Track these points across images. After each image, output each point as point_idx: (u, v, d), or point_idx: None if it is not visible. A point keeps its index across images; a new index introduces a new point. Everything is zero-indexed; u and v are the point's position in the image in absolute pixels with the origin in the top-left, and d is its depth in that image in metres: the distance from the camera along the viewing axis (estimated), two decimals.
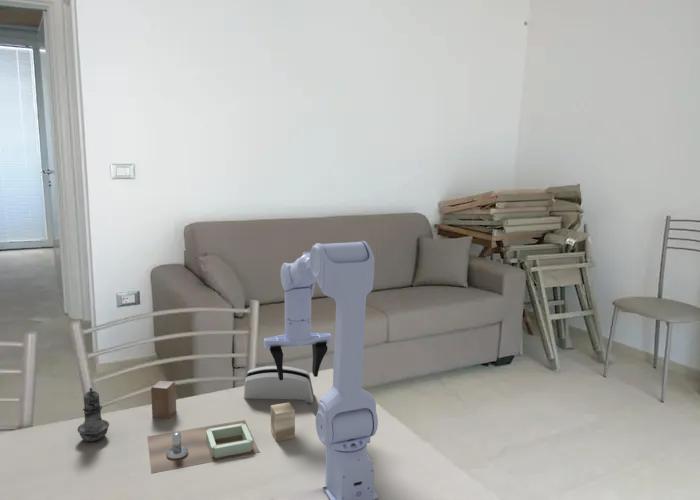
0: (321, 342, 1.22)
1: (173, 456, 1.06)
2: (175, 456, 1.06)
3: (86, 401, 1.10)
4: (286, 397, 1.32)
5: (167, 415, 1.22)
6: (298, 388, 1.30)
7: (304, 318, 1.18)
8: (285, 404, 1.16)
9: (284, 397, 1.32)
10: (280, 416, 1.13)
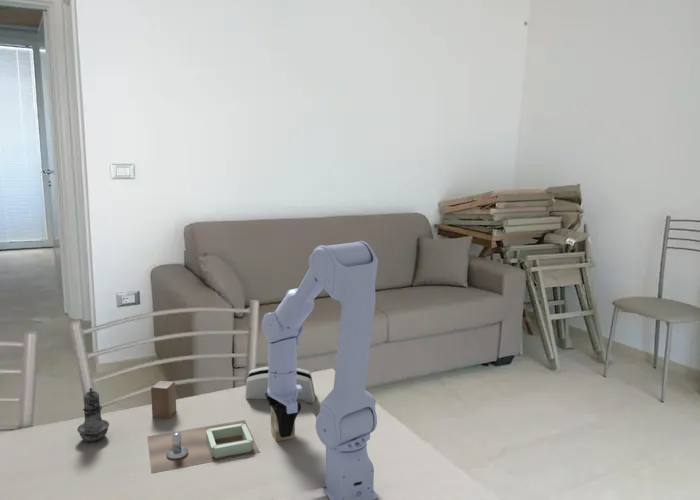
0: None
1: (173, 456, 1.06)
2: (175, 456, 1.06)
3: (86, 401, 1.10)
4: None
5: (167, 415, 1.22)
6: None
7: (292, 370, 1.11)
8: None
9: None
10: None
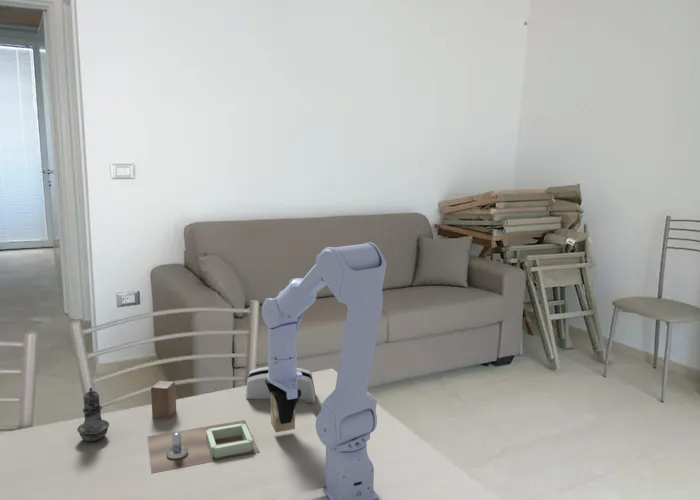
0: (286, 393, 1.09)
1: (173, 456, 1.06)
2: (175, 456, 1.06)
3: (86, 401, 1.10)
4: None
5: (167, 415, 1.22)
6: (301, 388, 1.31)
7: (292, 355, 1.11)
8: None
9: None
10: None
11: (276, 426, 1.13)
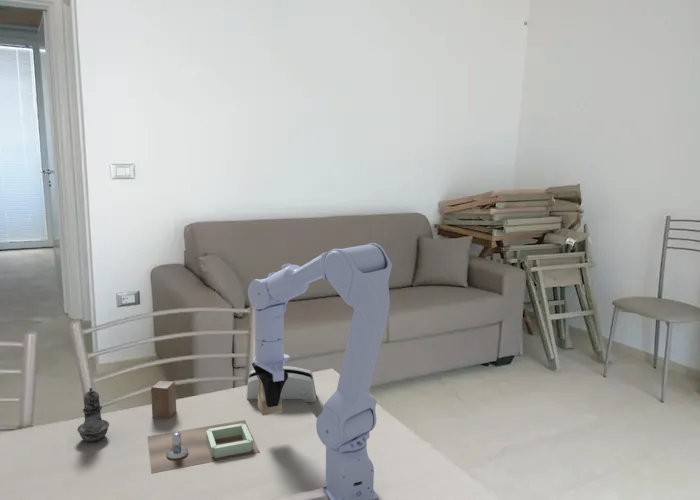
0: (273, 375, 1.07)
1: (173, 456, 1.06)
2: (175, 456, 1.06)
3: (86, 401, 1.10)
4: (289, 397, 1.32)
5: (167, 415, 1.22)
6: (301, 387, 1.31)
7: (280, 337, 1.09)
8: None
9: (287, 397, 1.32)
10: None
11: (263, 409, 1.11)
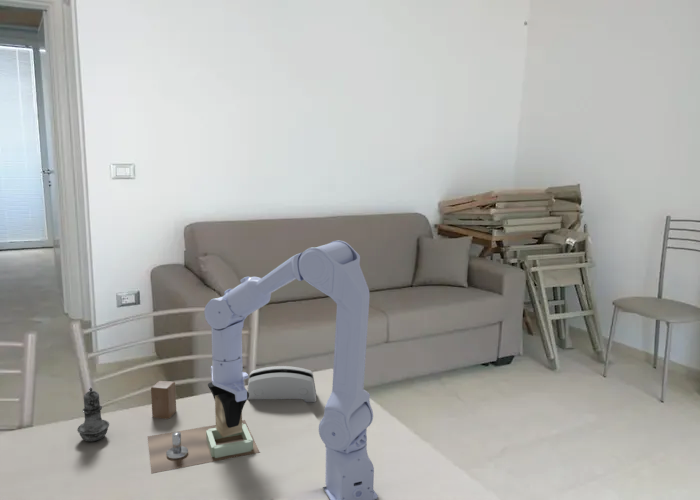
0: (234, 395, 1.05)
1: (173, 456, 1.06)
2: (175, 456, 1.06)
3: (86, 401, 1.10)
4: (290, 397, 1.32)
5: (167, 415, 1.22)
6: (302, 387, 1.31)
7: (240, 355, 1.07)
8: None
9: (288, 397, 1.32)
10: None
11: (223, 430, 1.08)
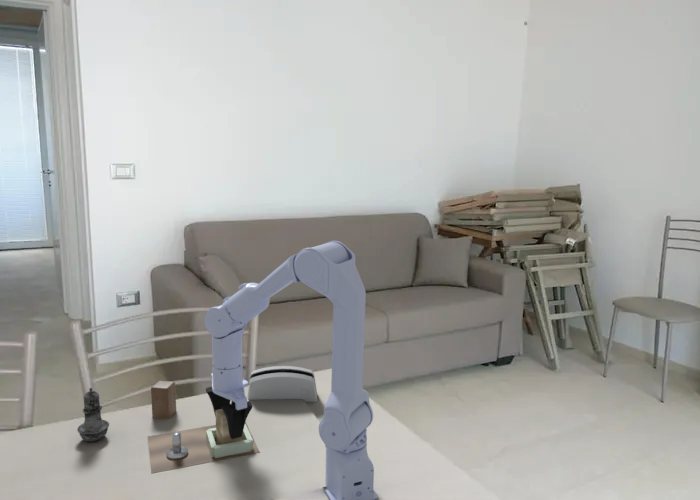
0: (235, 403, 1.05)
1: (173, 456, 1.06)
2: (175, 456, 1.06)
3: (86, 401, 1.10)
4: (291, 397, 1.32)
5: (167, 415, 1.22)
6: (303, 387, 1.31)
7: (240, 363, 1.08)
8: None
9: (289, 397, 1.32)
10: None
11: None
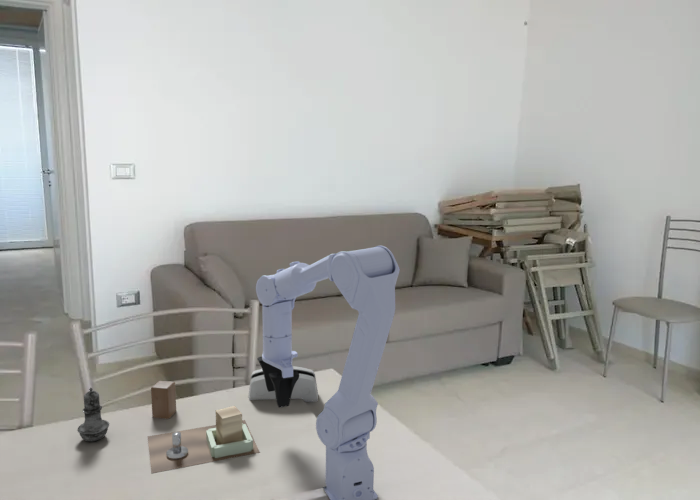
0: (282, 371, 1.07)
1: (173, 456, 1.06)
2: (175, 456, 1.06)
3: (86, 401, 1.10)
4: (292, 396, 1.32)
5: (167, 415, 1.22)
6: (304, 387, 1.31)
7: (287, 334, 1.09)
8: (231, 408, 1.12)
9: None
10: (227, 420, 1.08)
11: None
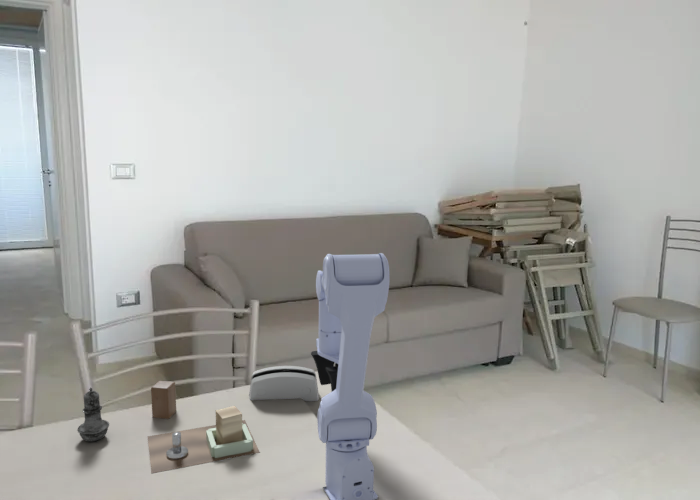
0: (338, 365, 1.10)
1: (173, 456, 1.06)
2: (175, 456, 1.06)
3: (86, 401, 1.10)
4: (293, 396, 1.32)
5: (167, 415, 1.22)
6: (305, 387, 1.31)
7: (337, 330, 1.11)
8: (231, 408, 1.12)
9: (291, 396, 1.32)
10: (227, 420, 1.08)
11: None
